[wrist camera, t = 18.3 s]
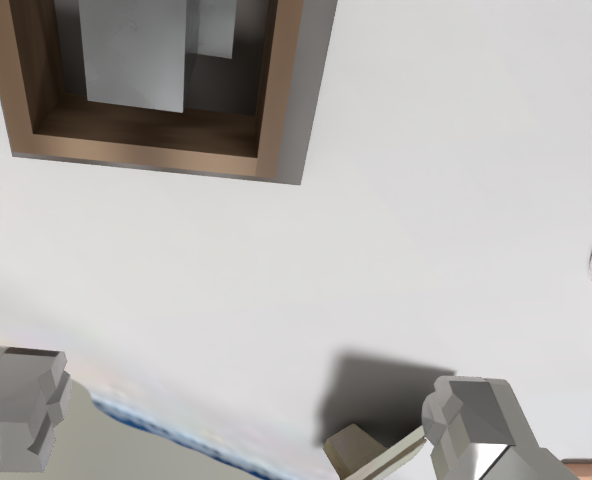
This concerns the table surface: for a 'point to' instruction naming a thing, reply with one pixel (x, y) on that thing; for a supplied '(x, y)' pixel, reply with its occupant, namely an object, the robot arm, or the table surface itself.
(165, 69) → the metal bracket
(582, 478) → the orange square frame
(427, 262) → the table surface
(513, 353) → the table surface
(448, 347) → the table surface
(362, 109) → the table surface
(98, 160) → the well box
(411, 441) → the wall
